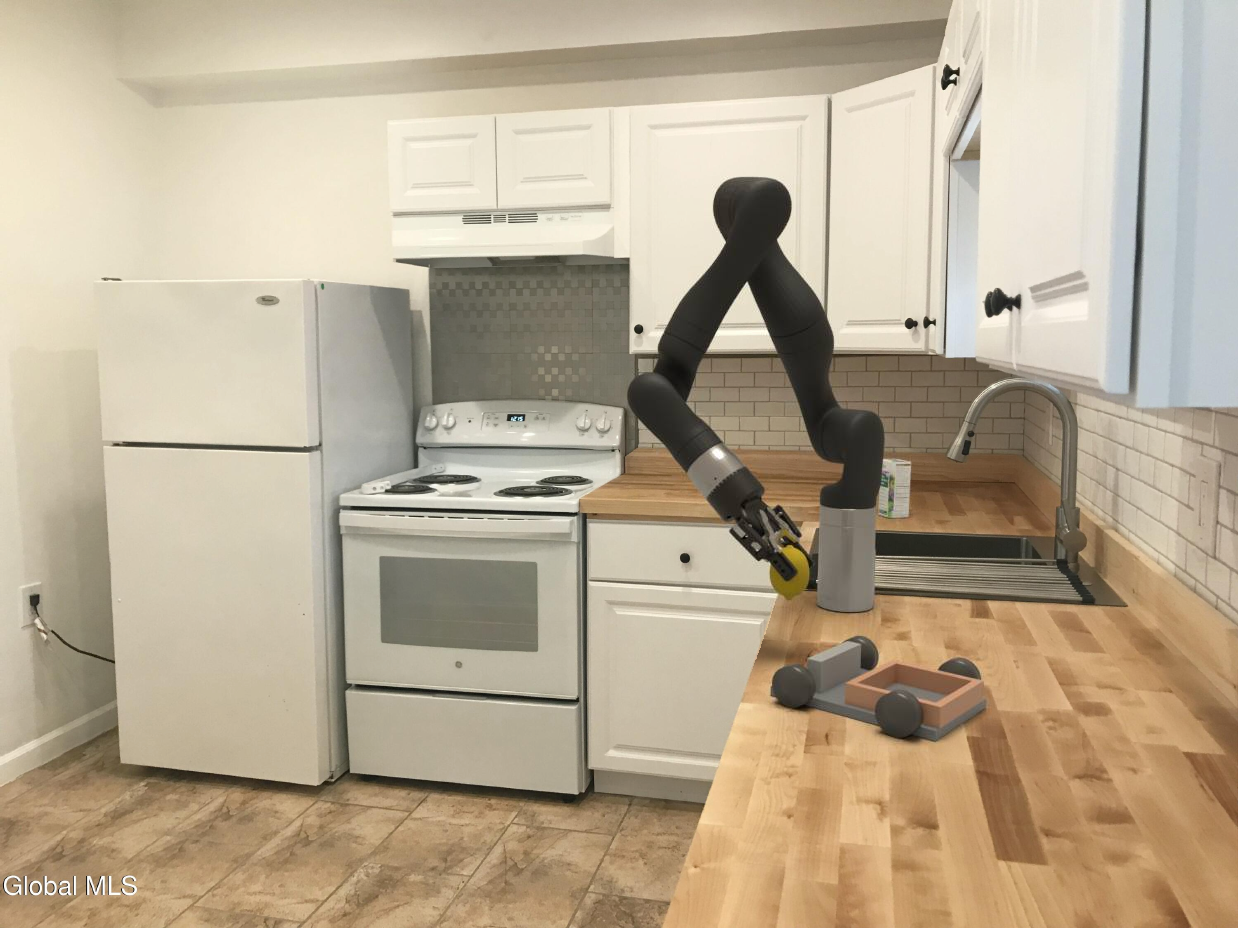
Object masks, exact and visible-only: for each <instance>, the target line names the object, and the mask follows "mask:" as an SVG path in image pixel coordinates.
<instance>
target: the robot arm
mask: <svg viewBox="0 0 1238 928" xmlns="http://www.w3.org/2000/svg"><path fill="white" fill-rule="evenodd" d="M789 191H790V190H788V188H787V187H786V185H784V183H782V181H779V180H778V179H775V178H772V177H766V176H764V177H763V176H736V177H731V178H729V179H726V180H725V181H724V182H722V183H721V184H720V185H719V186H718V188H717V190H716V192H715V193H714V196H713V201H712V213H713V217H714V221H715V224H716V227H717V229H718V231H719V232H720V234H721V236H722V238H723V240H724V242H725V243H724V245H723V247H722V249H721V250H720V252H719V254H718V255H717V257H715V260H714V261H713V262H712V263H711V265H710V266H709V267H708V269H707V270H705V272H704V273H703V274H702V275H701V277H700V278H699V279H697V281H696V282H695V283H694V284H692V286H691V287H689V289H688V291H687V292H686V293H685V294H684V296H683V297H682V299H681V300H680V301H679V302H678V304H677V306H676V307H675V309H674V312H673V313H672V315H671V317H670V318H669V320H668V323H667V324H666V327H665V329H664V330H663V333H662V334H661V337H660V338H659V342H658V344H657V353H658V358H657V361H656V364H655V366H654V368H653V371H652V372H651V371H650V372H643V373H641V374H639V375H636V376H635V377H634V378H633V379H632V380H631V382H630V383H629V385H628V388H627V391H626V393H627V394H626V399H627V404H628V406H629V409H630V410H631V412H632V413H633V415H634V416H635V417H636V418H637V419H638V420H639V422H640V423H641V424H642V425H644V426H645V428H646V429H647V430H649V432H650V433H651V434H652V435H653V436H654V437H656V439H658V441H659V442H661V444H663V446H665V448H666V450H667V451H668V452H669V453H670V455H671V456H672V458H673V459H674V460H675V461H676V463H678V465H679V467H681V469H683V471H684V473H686V475H687V476H688V478H689V479H690V480H691V482H692V484H693V485H694V487H695V488H696V490H698V492H699V493H700V494H701V496H703V498H704V499H705V501H707V503H708V504H709V505H710V506H711V507H712V509H713V510H714V511H715V512H716V514H717V515H718V516H719V517H720V518H721V519H722V521H723V522H725V523H729V522H733V521H735V522H734V523H735V524H734V525H733V526H732V527H731V528H730V529H729V531H728V533H730V535H731V536H732V537H733V538H734V539H735V540H736V541H737V542H738V543H739V544H740V545H741V546H742V547H743V548H744V549H745V551H747V552H748V553H749V554H750V555H751V556H752V557H753V559H755V560H756V561H757V562H761V561H762V560H763V561H764V562H765V563H769V564H770V565H772V566H773V567H774V568H775V569H776V571H777V572H778V573H779V574H780V575H781V577H782V578H783V579H784V580H785V581H787V582H788V581H790V580H791V579H793V578H794V577H795V576H796V575H797V574H798V570H797V569H796V568H795V566H794V565H793V564H792V563H791V562H790V560H789V559H788V558H787V557H786V556H785V555H784V553H783V552H780V550H781V549H783V548H786V547H787V545H792V546H793V547H794V548H796V549H798V550H800V551H801V552H802V553H803V554H804V555H805V557H806V559H807V562H808V566H809V570H811V569H812V568H813V567H814V566H815V565H816V562H815V560H814V559H813V557H812V556H811V555H810V554H809V553H808V551H806V549H805V548H804V547H803V546H802V545H801V544H800V542H801V540H800V539H801V538H802V536H803V534H802V533H801V531H800V530H799V529H798V527H797V525H796V524H795V523H794V521H793V520H792V519H791V517H790V516H789V514H788V513H787V512H786V511H785V509H784V507H783V506H781V504H776V506H775V507H773V508H772V507H770V506H769V505H768V504H767V503H766V502H764V500H762V497H763V495H764V494H765V490H766V489H765V487H764V485H762V483H761V482H760V481H759V480H758V478H756V476H755V475H754V473H752V471H751V470H750V469H749V468H748V467H747V466H746V465H745V464H744V462H743V461H742V460H741V458H739V456H738V455H737V454H736V453H735V452H734V451H733V450H732V449H731V448H730V447H728V445H726V444H725V443H724V441H723V440H722V439H721V438H720V437H719V436H718V435H717V433H716V432H715V431H714V430H713V429H712V427H711V426H710V425H709V424H708V423H707V422H705V420H704V419H702V418H701V417H699V416H698V415H697V414H696V413H695V412H694V411H693V410H692V409H691V407H690V406H689V405H688V404H687V402H688V399H689V396H690V394H691V390H692V388H693V385H694V381H695V379H696V376H697V373H698V372H697V371H698V368H699V366H700V364H701V363H702V361H703V359H704V358H705V355H706V353H707V352H708V349H709V348H710V346H711V344H712V342H713V340H714V338H715V335H716V334H717V331H718V330H719V329H720V326H721V325H722V323H723V320H724V319H725V317H726V315H727V313H728V312H729V310H730V309H731V307H732V305H733V304H734V302H735V300H736V299H737V297H738V296H739V295H740V293H741V291H742V290H743V288H744V287H745V285H746V284H748V285H747V286H749V289H750V292H751V294H752V296H753V298H754V302H755V304H756V306H757V308H758V310H759V313H760V315H761V318H762V320H763V322H764V325H765V327H766V330H767V332H768V334H769V337H770V339H771V342H772V344H773V346H774V349H775V351H776V352H777V355H778V357H779V359H780V361H781V363H782V365H783V368H784V370H785V372H786V374H787V377H788V380H789V382H790V386H791V388H792V390H793V392H794V395H795V397H796V400H797V403H798V406H799V409H800V413H801V416H802V420H803V423H804V426H805V429H806V432H807V436H808V438H809V442H810V444H811V446H812V449H813V451H814V452H815V454H816V455H817V456H818V457H819V458H820V459H822V461H825V462H827V463H833V464H840V465H843V466H842V467H843V469H842V474H841V477H840V479H839V480H837V481H836V482H833V483H830V484H827V485H825V486H823V487H822V488H821V489H820V491H819V518H818V519H819V522H818V523H819V524H818V525H819V526H818V527H819V528H818V529H819V530H818V560H817V561H818V562H817V563H818V564H817V567H818V568H817V595H816V596H817V598H816V600H817V602H816V603H817V606H819V607H821V608H823V609H825V610H829V611H834V612H842V613H844V612H845V613H856V612H857V613H859V612H866V611H869V610H871V609H872V608H873V607H874V604H875V593H876V591H875V590H876V589H875V585H876V559H877V557H876V555H877V553H876V552H877V550H876V528H877V527H876V526H877V525H876V523H877V521H876V520H877V519H876V518H877V500H878V498H877V497H878V496H879V490H880V486H881V479H882V467H883V459H884V455H885V454H884V453H885V441H886V440H885V429H884V425H883V421H882V419H881V417H880V416H879V415H878V414H877V413H875V412H874V411H872V410H867V409H866V410H865V409H853V408H843V407H841V406H840V404H839V403H838V401H837V399H836V396H835V394H834V392H833V389H832V387H831V384H830V378H829V377H830V368H831V366H832V365H831V364H832V360H833V356H834V351H835V337H834V332H833V329H832V327H831V324H830V322H829V319H828V317H827V313H826V312H825V308H824V306H823V304H822V303H821V301H820V299H819V297H818V295H817V294H816V293H815V291H814V290H813V288H812V287H811V286H810V285H809V284H808V283H807V281H806V279H805V278H804V277H803V276H802V275H801V274H800V273H799V271H797V268H795V266H794V265H793V264H792V263H791V261H789V259H788V258H787V257H786V255H785V253H784V252H783V250H782V248H781V246H780V243H779V242H778V239H779V238H780V236H781V235H782V233H783V232H784V231H785V229H786V228H787V226H788V223H789V221H790V218H791V216H792V215H791V214H792V210H793V209H792V207H793V206H792V205H793V202H792V198H791V197H792V196H791V194H790V192H789ZM780 548H781V549H780ZM779 552H780V553H779Z"/></svg>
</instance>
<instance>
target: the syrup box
mask: <svg viewBox="0 0 1238 928" xmlns="http://www.w3.org/2000/svg"><path fill="white" fill-rule="evenodd" d="M911 473H912V461H908V460H903V459H899V458H883V467H882V479H881V486H880V490H879V492H878V508H877V509H878V510H877V511H878V516H882V517H885V518H888V519H900V518H901V519H902V518H909V516H910V515H909V514H910V498H911V497H910V495H911Z"/></svg>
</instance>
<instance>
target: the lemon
mask: <svg viewBox="0 0 1238 928" xmlns="http://www.w3.org/2000/svg"><path fill="white" fill-rule="evenodd" d="M780 552H783V553H784V555H785V556H786V557H787V558H788V559H789V560H790V562H791V563H792V564H793V565H794V566H795V568H796V569H797V570H798V574H797V575H796V576H795V577H794V578H793V579H791V580H790V581H788V582H787V581H785V580H784V579H783V578H782V577H781V575H780V574H779V573H778V572H777V571H776V569H775V568H774V567H773V566H772V565H771V564H770V566H769V581H770V584H771V586H772V587H773V589H774V591H775V592H777V593H776V594H779V595H781V596H783V598H785V599H786V601H792V600H793V599H794V598H795V597H798V596H799V595H801V594H802V593H803V592H804V591H805V589H807V586H808V585H809V580H810V569H809V566H808V562H807V559H806V557H805V555H804V554H803V553H802V552H801V551H800V550H798V549H796V548H794V547H793V546H792V545H787V547H786V548H783V549H782V548H781V549H780ZM780 552H779V553H780Z"/></svg>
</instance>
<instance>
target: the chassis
mask: <svg viewBox="0 0 1238 928" xmlns="http://www.w3.org/2000/svg"><path fill="white" fill-rule="evenodd" d="M879 654H880V653H879V650H878V648H877V646H876V645H875V643H874V642H873V640H871V639H870V638H869V637H867V636H863V635H855V636H852V637H850V638H848V639H845V640H844V641H842V642H841V643H839V644H838V645H835V646H833V647H830V648H829V649H825V650H824V651H822V652H819V653H816V654H815V655H813V656H810V657H807V658H806V666H804V665H803V664H800V663H789V664H787V665H785V666H783V667H780V668H778V669H777V670H776V671H775V672H774V674H773V675H772V680H771V685H770V692H769V693H770V694H769V695H770V696H771V697H774V698H776V700H778V701H779V703H781V704H782V705H783V706H785V707H787V708H792V709H793V708H794V709H795V708H799V707H801V706H807V707H811V708H815V709H818V710H822V711H826V712H829V713H832V714H837V715H840V716H844V717H848V718H850V719H854V720H858V721H861V722H865V723H869V724H872V725H875V726H879V727H880V729H881V730H882V731H883V732H884V733H885V734H887V735H888V736H890V737H892V738H896V739H900V738H901V739H903V738H906V737H908V736H910V735H912V736H915V737H919V738H922V739H925V740H929V741H932V742H933V741H934V742H937V741H938V740H940V739H941V738H943V737H944V736H945V735H947V734H948V733H950V732H952V731H953V730H955V729H956V728H958V727H959V726H961V725H962V724H963V723H966V722H967V721H969V720H970V719H971V718H973V717H974V716H977V714H979V713H980V712H982V711H983V710H985V709H986V708H987V707H986V706H987V698H985V697H984V685H985V684H984V683H985V681H984V680H982V675H981V672H980V670H979V668H978V666H976V664H975V663H974V662H972V661H971V660H970V659H967V658H965V657H960V656H957V657H953V658H950V659H949V660H947V661H945V662H943V663H941V665H940V666H939V667H938V669H934V668H930V667H925V666H922V665H915V664H912V663H908V662H903V661H898V660H896V659H892V660H889V661H888V662H885V663H883V664H882V665H879V666H878V663H879V660H880V659H879V658H880V655H879Z"/></svg>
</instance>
